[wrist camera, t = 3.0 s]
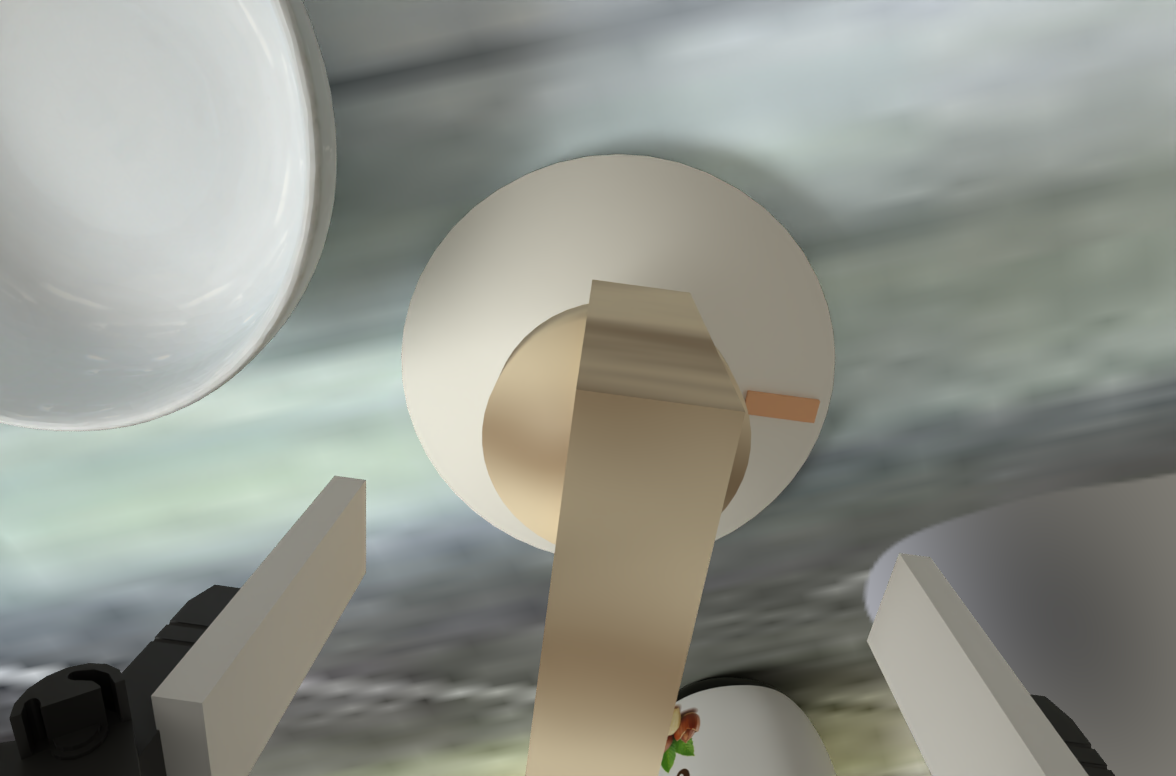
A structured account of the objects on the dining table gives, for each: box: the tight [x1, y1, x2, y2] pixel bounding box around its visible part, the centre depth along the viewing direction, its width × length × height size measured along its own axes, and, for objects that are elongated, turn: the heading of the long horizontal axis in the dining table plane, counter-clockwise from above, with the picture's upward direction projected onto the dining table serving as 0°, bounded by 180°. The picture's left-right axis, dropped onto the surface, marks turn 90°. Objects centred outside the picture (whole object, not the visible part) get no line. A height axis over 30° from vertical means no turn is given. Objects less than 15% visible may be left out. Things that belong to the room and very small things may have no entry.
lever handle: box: [482, 279, 751, 776], centre depth 19 cm, size 12×9×11 cm
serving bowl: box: [0, 0, 337, 431], centre depth 22 cm, size 21×21×7 cm
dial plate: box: [401, 154, 835, 553], centre depth 26 cm, size 18×18×5 cm
